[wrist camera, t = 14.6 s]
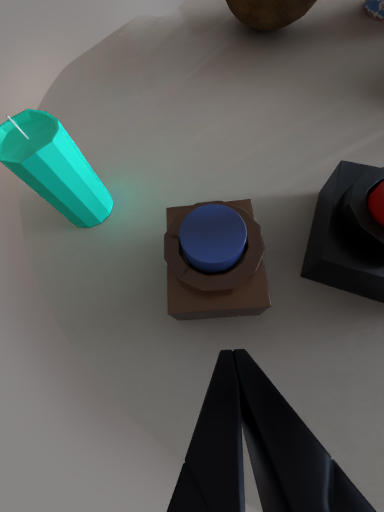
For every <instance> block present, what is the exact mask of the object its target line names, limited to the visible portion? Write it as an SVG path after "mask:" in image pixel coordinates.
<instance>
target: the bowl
mask: <svg viewBox="0 0 384 512" xmlns="http://www.w3.org/2000/svg"><path fill="white" fill-rule="evenodd" d="M316 1H317V0H226V2H227V4H228V6H229V9H230V10H231V12H232V13H233V14H234V16H235V17H236V18H237V19H238V20H239V21H240V22H242V23H244V24H246V25H248V26H251V27H253V28H255V29H258V30H261V31H269V30H275V29H279V28H281V27H284V26H287V25H289V24H291V23H293V22H294V21H296V20H298V19H299V18H301V17H302V16H303V15H305V14H306V13H307V11H308V10H309V9H310V8H311V7H312V6H313V5H314V4H315V2H316Z"/></svg>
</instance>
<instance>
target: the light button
mask: <svg viewBox="0 0 384 512" xmlns="http://www.w3.org/2000/svg"><path fill="white" fill-rule="evenodd" d="M368 208H369V210H370V212H371V214H372V216H373V217H374V219H375V221H376V222H378V223H379V224H380V225H382V226H383V227H384V181H383V182H382V183H380V184H379V185H378V186H377V187H376V188H375V189H374V190H373V191H372V193H371V194H370V196H369V199H368Z"/></svg>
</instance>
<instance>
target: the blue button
mask: <svg viewBox="0 0 384 512" xmlns="http://www.w3.org/2000/svg"><path fill="white" fill-rule="evenodd" d="M179 238H180V243H181V246H182V249H183V252H184V255H185V257H186V259H187V260H188V261H189V263H190V264H191V265H192V266H194V267H195V268H197V269H199V270H201V271H204V272H211V273H216V272H221V271H224V270H227V269H229V268H231V267H232V266H233V265H234V264H235V263H236V262H237V261H238V260H239V259H240V257H241V255H242V252H243V249H244V245H245V242H246V238H247V230H246V225H245V223H244V221H243V219H242V218H241V216H240V215H239V214H238V213H237V212H235V211H234V210H233V209H231V208H229V207H226V206H223V205H218V204H209V205H204V206H201V207H198V208H196V209H194V210H193V211H191V212H190V213H189V214H188V215H187V216H186V217H185V219H184V220H183V222H182V224H181V227H180V231H179Z"/></svg>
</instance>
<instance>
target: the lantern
mask: <svg viewBox="0 0 384 512" xmlns="http://www.w3.org/2000/svg"><path fill="white" fill-rule="evenodd" d="M364 8H365V11H366V13H367V14H368V15H370V16H371V17H373V18H374V19H376V20H380V21H383V22H384V0H367V1H366V3H365V5H364Z"/></svg>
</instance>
